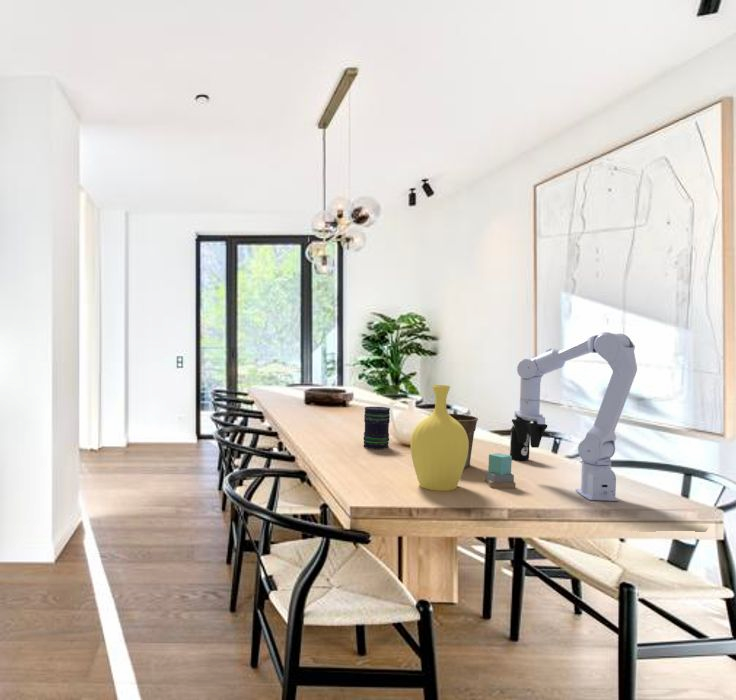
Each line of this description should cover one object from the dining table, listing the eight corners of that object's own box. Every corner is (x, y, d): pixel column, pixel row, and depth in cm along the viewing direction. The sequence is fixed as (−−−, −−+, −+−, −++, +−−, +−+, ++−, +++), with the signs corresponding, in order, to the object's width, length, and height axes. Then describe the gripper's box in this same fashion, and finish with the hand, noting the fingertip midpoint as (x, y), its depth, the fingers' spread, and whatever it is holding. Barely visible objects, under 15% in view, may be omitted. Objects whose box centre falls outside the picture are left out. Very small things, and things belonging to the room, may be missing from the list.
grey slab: (513, 482, 148) (513, 475, 148) (493, 482, 148) (493, 475, 148) (505, 477, 154) (505, 470, 154) (485, 477, 154) (485, 470, 154)
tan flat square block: (515, 490, 147) (515, 483, 147) (490, 489, 147) (490, 482, 147) (508, 484, 154) (509, 477, 154) (484, 483, 154) (485, 476, 154)
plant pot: (484, 464, 177) (485, 416, 177) (465, 473, 164) (466, 421, 164) (439, 457, 186) (441, 411, 186) (418, 465, 173) (420, 416, 173)
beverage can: (516, 461, 184) (517, 427, 184) (506, 457, 190) (507, 424, 190) (532, 461, 186) (533, 426, 185) (522, 457, 192) (523, 424, 192)
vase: (397, 485, 147) (400, 384, 147) (431, 476, 158) (434, 382, 158) (445, 497, 136) (449, 388, 136) (478, 486, 148) (481, 386, 148)
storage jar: (362, 444, 207) (363, 406, 207) (386, 444, 208) (388, 406, 208) (364, 449, 197) (365, 409, 197) (390, 449, 198) (391, 409, 198)
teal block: (511, 473, 151) (511, 455, 151) (500, 475, 148) (501, 457, 148) (498, 470, 154) (499, 453, 154) (488, 471, 151) (488, 454, 151)
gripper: (555, 402, 152) (553, 449, 152) (529, 397, 166) (528, 440, 166) (533, 402, 150) (531, 449, 150) (509, 397, 164) (507, 440, 164)
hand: (528, 444), depth 158 cm, fingers open, 7 cm apart
